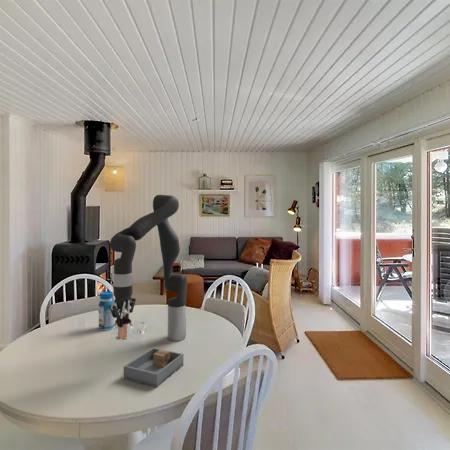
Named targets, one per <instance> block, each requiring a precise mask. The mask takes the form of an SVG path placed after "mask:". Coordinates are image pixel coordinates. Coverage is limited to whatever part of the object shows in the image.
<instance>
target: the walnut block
mask: <svg viewBox="0 0 450 450" xmlns="http://www.w3.org/2000/svg"><path fill="white" fill-rule="evenodd" d="M165 350H166V349H162V350H159V351H157V352H156V353H154V354H153V366H157V367H161V368H164V367H165V366H166V365H168V364H169V363H170V352H169V351H170V350H167V351H165Z"/></svg>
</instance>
